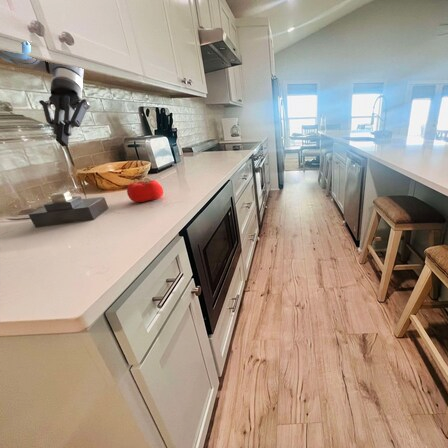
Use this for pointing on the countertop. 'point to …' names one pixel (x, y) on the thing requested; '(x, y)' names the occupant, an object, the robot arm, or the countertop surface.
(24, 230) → the countertop surface
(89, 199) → the dark grey stepped block
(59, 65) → the robot arm
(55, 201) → the grey brown cube
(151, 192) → the tomato
